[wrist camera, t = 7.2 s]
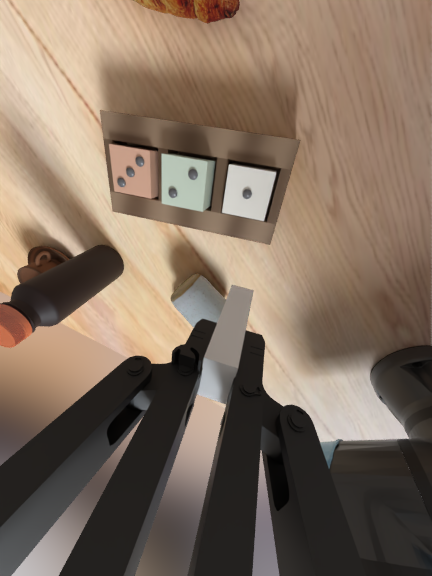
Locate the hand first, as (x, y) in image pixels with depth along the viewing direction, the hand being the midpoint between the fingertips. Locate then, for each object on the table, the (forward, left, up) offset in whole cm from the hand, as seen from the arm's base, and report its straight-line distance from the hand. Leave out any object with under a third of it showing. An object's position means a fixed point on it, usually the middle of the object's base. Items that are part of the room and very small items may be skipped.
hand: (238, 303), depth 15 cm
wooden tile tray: (+9, -5, -20) cm, 22 cm away
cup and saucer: (+38, +17, -20) cm, 46 cm away
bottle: (+26, +12, -20) cm, 35 cm away
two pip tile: (+9, -5, -16) cm, 19 cm away
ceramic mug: (+7, +14, -20) cm, 26 cm away
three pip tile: (+16, -5, -17) cm, 24 cm away
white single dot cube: (+2, -5, -17) cm, 18 cm away
